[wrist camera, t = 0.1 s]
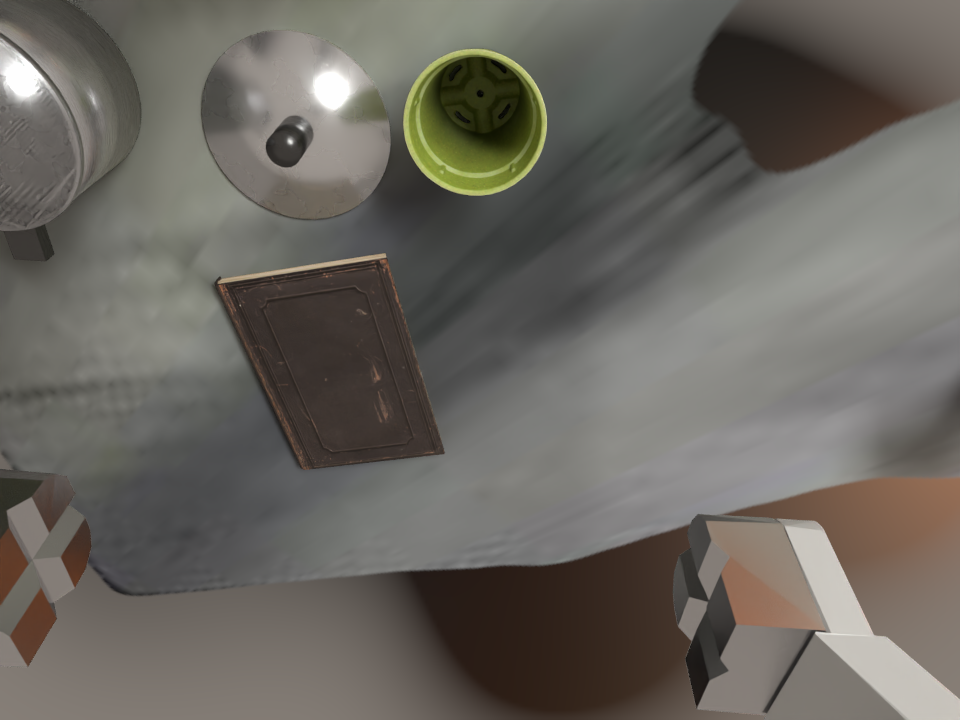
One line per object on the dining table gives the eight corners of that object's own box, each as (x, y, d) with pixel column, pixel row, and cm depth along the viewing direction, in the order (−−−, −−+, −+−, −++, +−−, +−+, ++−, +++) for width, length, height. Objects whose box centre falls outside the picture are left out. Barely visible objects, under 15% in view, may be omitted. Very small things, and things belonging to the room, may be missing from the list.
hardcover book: (390, 247, 61) (386, 259, 59) (446, 439, 74) (444, 454, 72) (220, 273, 63) (211, 286, 61) (303, 455, 76) (298, 470, 74)
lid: (189, 21, 50) (162, 35, 46) (390, 35, 50) (380, 51, 47) (221, 208, 59) (201, 234, 55) (393, 220, 59) (385, 246, 55)
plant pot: (393, 106, 53) (376, 144, 46) (462, -7, 48) (454, 17, 41) (493, 174, 56) (491, 220, 49) (567, 74, 51) (576, 109, 44)
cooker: (-108, -80, 47) (-236, -67, 39) (106, -65, 47) (22, -48, 39) (0, 207, 59) (-80, 263, 51) (169, 219, 59) (115, 277, 51)
